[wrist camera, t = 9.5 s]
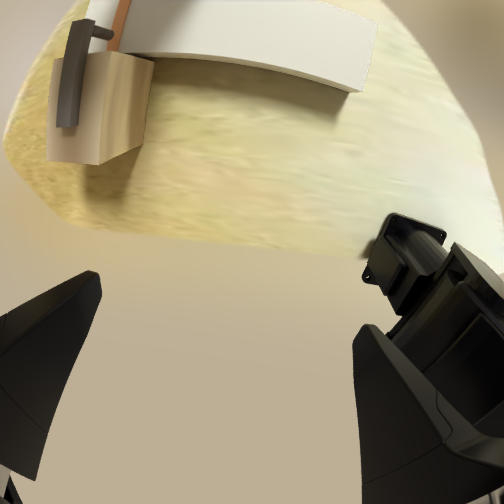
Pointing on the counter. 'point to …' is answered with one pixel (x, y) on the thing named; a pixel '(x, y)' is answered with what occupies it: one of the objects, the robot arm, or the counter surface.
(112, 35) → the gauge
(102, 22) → the board
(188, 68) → the counter surface
